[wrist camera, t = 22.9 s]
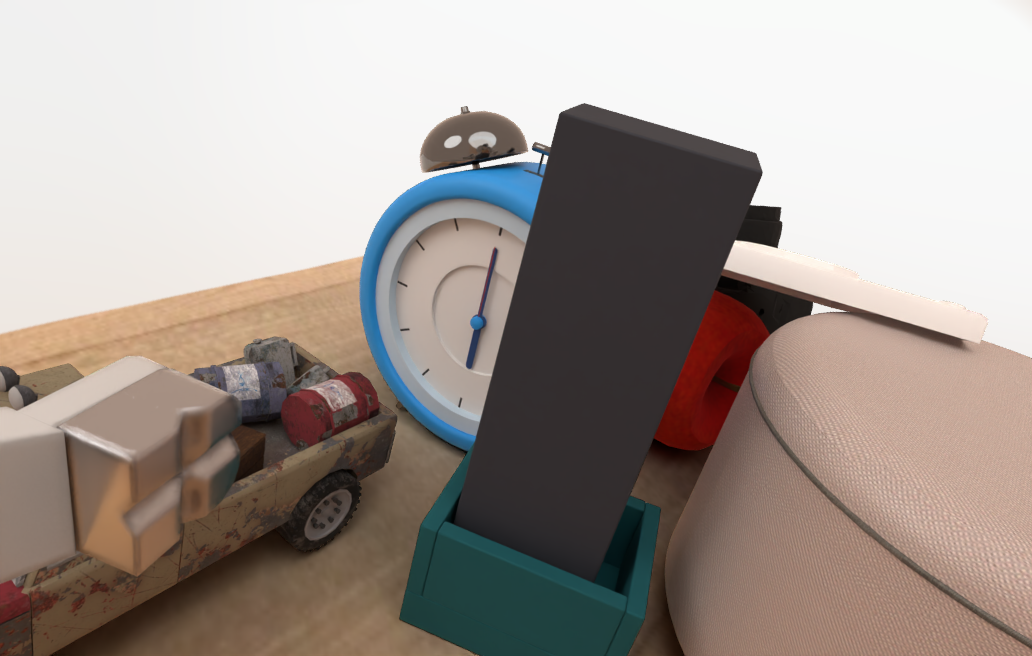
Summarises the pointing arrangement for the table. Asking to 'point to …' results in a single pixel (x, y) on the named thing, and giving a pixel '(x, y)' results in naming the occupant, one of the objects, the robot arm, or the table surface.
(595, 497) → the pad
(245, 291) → the table surface
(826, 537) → the container
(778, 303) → the film camera
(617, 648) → the teal storage bin
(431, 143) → the alarm clock
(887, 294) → the light switch
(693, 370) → the apple
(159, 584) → the toy vehicle
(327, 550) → the table surface
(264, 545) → the table surface
